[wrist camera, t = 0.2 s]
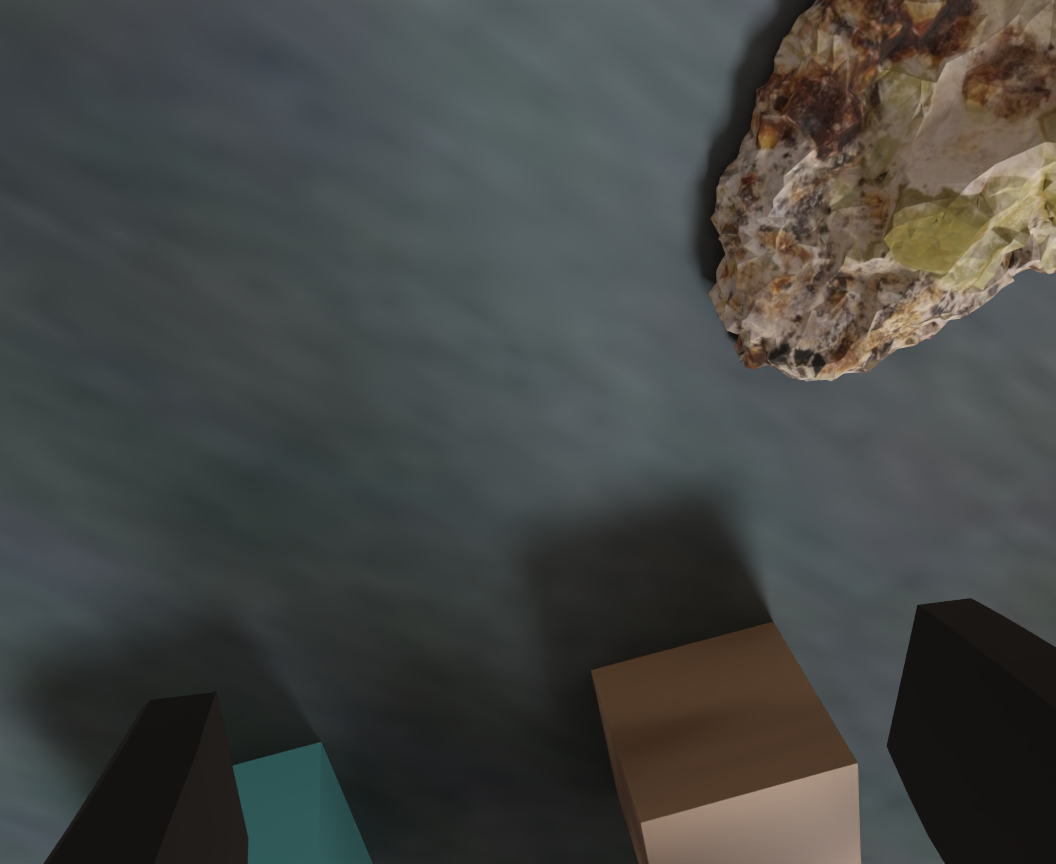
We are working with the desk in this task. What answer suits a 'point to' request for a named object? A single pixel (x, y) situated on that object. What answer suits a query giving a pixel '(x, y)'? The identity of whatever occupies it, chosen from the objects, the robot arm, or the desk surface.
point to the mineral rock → (888, 179)
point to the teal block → (297, 810)
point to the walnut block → (728, 756)
